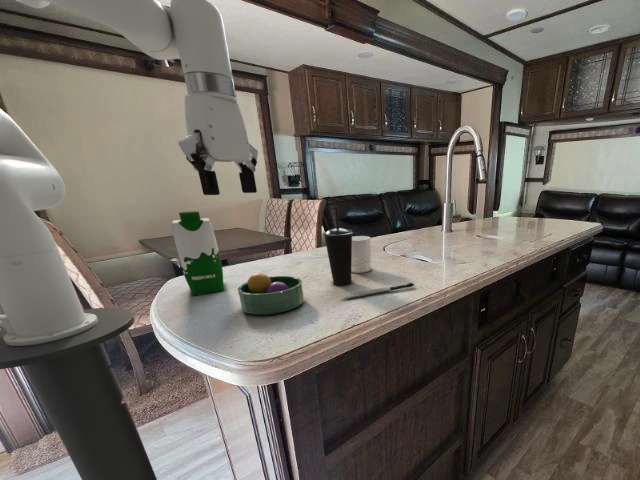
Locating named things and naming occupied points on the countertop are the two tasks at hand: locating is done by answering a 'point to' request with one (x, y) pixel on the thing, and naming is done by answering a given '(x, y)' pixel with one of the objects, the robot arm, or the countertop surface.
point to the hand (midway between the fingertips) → (232, 193)
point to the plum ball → (276, 287)
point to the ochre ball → (258, 283)
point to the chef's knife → (380, 290)
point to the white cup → (361, 254)
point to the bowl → (272, 297)
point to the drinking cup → (339, 253)
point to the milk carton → (198, 253)
